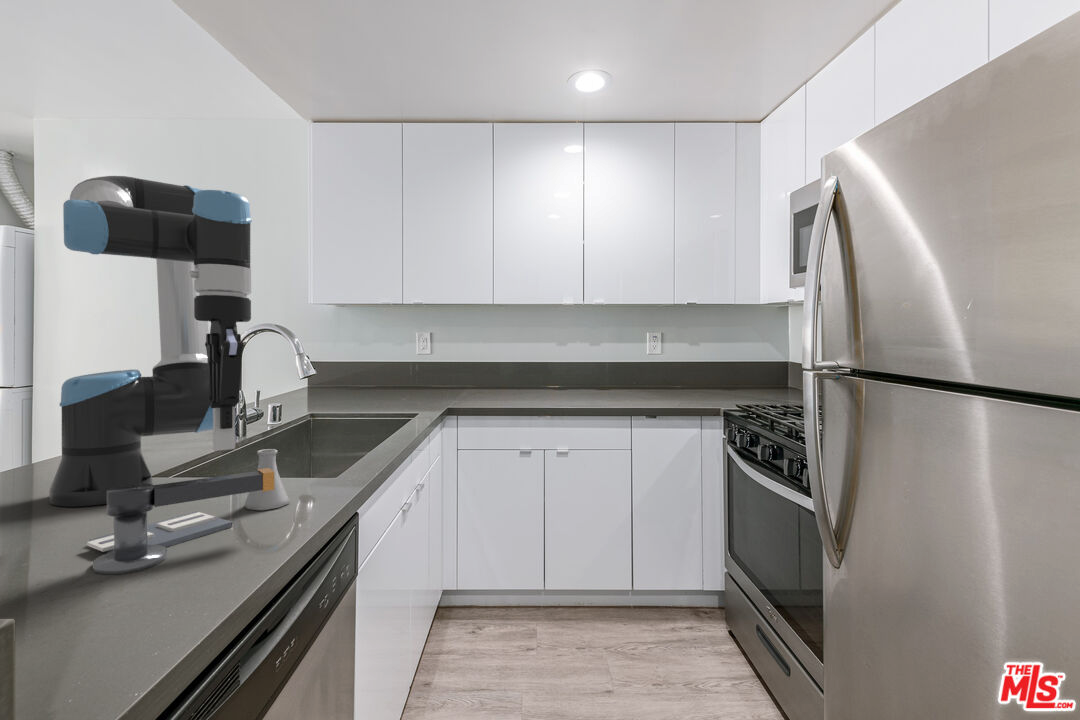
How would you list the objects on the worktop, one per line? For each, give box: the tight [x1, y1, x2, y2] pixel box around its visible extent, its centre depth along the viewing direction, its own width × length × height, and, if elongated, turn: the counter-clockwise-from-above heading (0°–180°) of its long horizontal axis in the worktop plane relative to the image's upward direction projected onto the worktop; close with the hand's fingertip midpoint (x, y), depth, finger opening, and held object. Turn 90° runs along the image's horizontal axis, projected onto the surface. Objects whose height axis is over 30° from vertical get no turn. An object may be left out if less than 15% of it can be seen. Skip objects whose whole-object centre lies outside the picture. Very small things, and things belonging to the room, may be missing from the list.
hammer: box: [106, 468, 274, 518], centre depth 78 cm, size 20×5×3 cm, turn 132°
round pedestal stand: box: [92, 512, 168, 576], centre depth 73 cm, size 8×8×6 cm
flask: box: [243, 448, 291, 511], centre depth 98 cm, size 7×7×10 cm
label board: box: [86, 511, 233, 553], centre depth 82 cm, size 10×16×1 cm, turn 152°
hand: (224, 448), depth 84 cm, fingers closed
